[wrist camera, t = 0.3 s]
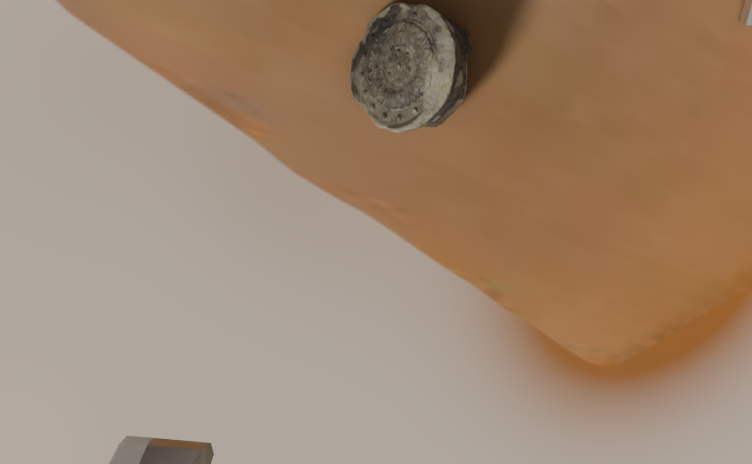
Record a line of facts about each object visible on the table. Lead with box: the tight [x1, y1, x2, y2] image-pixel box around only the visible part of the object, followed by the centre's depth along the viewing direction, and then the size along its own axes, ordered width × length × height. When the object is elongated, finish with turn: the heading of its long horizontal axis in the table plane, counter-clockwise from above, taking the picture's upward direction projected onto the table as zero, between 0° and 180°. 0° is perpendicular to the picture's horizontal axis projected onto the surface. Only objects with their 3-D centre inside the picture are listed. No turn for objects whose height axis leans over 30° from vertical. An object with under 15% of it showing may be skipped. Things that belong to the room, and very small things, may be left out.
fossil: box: [350, 3, 472, 132], centre depth 51 cm, size 11×9×10 cm
